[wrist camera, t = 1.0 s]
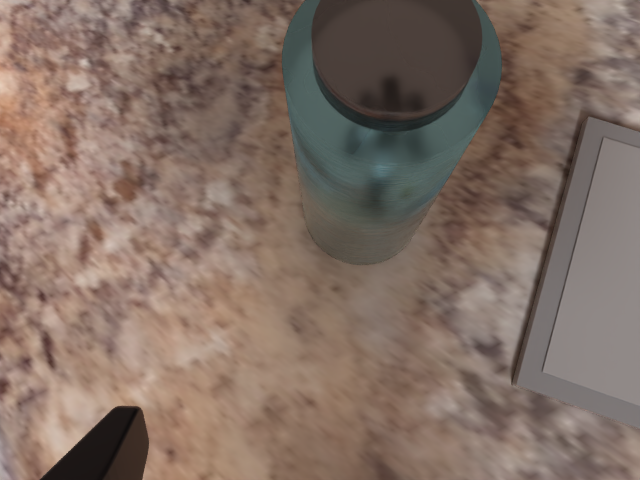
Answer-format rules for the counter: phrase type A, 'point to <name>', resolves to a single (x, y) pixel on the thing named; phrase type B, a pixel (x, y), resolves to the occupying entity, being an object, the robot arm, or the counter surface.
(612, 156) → the coaster
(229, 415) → the counter surface
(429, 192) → the bottle
